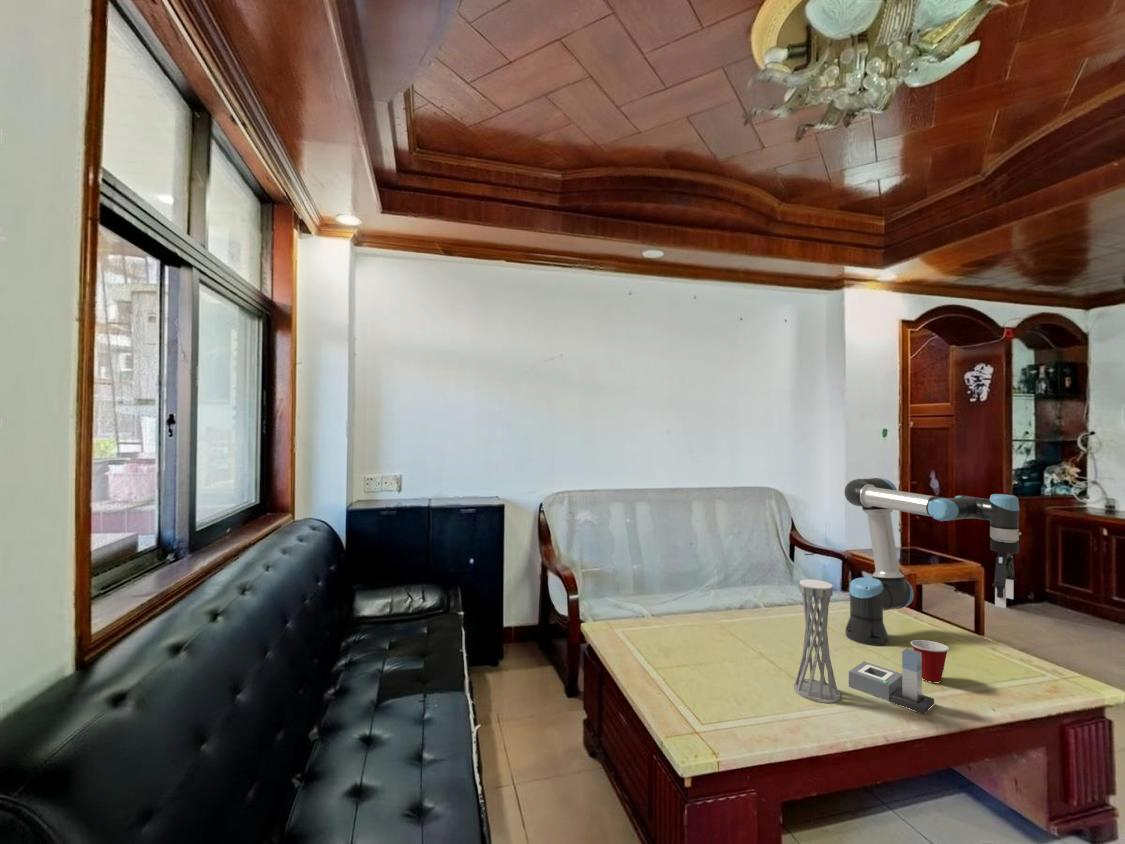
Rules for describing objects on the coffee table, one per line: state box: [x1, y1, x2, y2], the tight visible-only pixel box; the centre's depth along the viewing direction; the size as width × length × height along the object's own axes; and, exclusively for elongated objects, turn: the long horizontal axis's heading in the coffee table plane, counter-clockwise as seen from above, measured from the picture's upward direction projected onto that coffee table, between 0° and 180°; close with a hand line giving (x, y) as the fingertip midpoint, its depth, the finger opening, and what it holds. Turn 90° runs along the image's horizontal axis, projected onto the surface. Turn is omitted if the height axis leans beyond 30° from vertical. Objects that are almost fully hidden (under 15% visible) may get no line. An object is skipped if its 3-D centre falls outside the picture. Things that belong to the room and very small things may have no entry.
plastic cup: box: [910, 639, 950, 682], centre depth 177 cm, size 11×11×12 cm
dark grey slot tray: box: [889, 687, 935, 715], centre depth 161 cm, size 9×9×2 cm
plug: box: [901, 648, 923, 704], centre depth 161 cm, size 4×4×15 cm
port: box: [848, 661, 902, 701], centre depth 171 cm, size 12×12×5 cm
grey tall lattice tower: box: [793, 578, 841, 704], centre depth 168 cm, size 14×13×35 cm
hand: (1004, 602), depth 177 cm, fingers open, 13 cm apart
